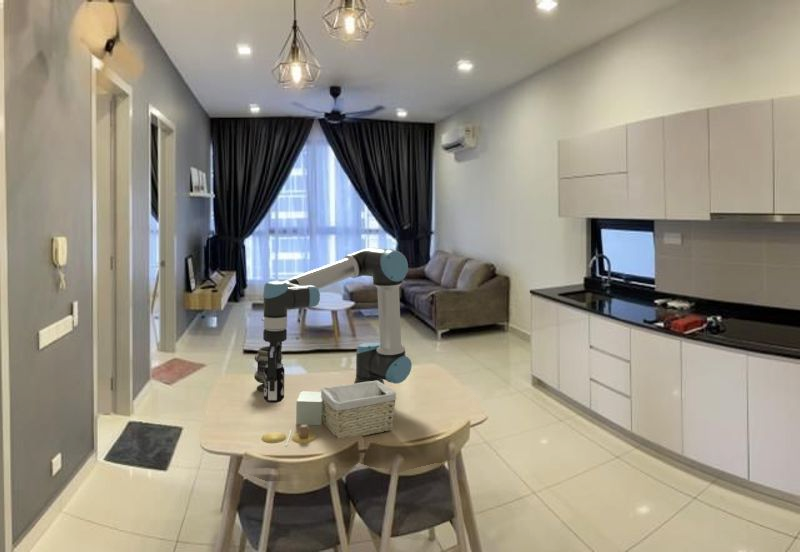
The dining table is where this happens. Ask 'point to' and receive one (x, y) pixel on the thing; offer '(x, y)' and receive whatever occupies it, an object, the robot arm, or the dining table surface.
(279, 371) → the beverage can
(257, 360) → the apothecary jar
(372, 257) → the robot arm
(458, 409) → the dining table surface
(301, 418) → the cover
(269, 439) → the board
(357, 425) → the storage basket
